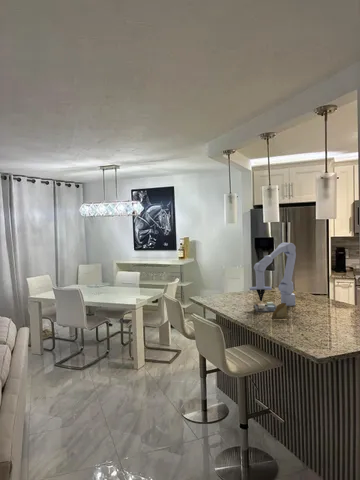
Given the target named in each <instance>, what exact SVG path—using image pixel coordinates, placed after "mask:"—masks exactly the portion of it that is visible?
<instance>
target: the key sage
mask: <svg viewBox="0 0 360 480" xmlns="http://www.w3.org/2000/svg"><path fill="white" fill-rule="evenodd" d="M273 304H274V302H273V301H266V305H267V306H274V305H273Z"/></svg>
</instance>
